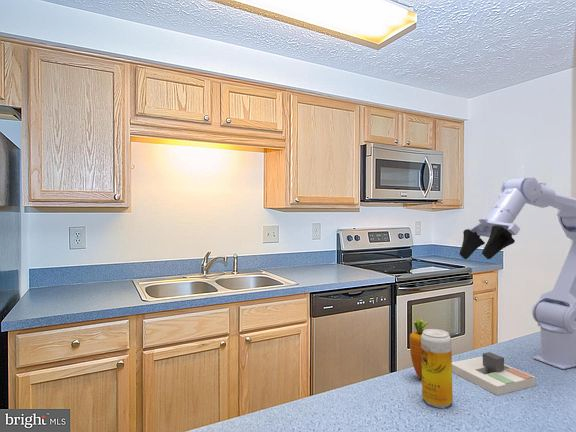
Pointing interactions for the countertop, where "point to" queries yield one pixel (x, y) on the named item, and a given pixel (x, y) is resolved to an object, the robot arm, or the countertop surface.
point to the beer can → (436, 368)
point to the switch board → (493, 376)
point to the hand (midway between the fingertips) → (473, 256)
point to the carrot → (417, 346)
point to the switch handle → (493, 362)
